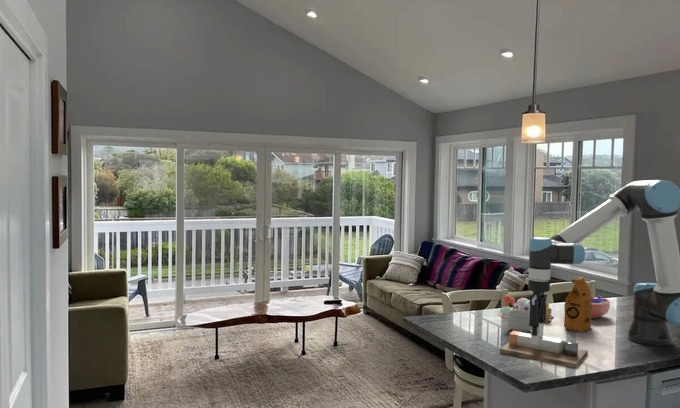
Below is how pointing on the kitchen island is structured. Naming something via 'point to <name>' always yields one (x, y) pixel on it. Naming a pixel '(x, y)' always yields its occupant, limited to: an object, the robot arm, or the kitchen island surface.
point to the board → (545, 355)
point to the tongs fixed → (566, 346)
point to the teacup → (519, 320)
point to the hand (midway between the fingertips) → (536, 342)
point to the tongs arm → (543, 344)
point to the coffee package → (578, 307)
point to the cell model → (599, 306)
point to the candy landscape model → (520, 307)
